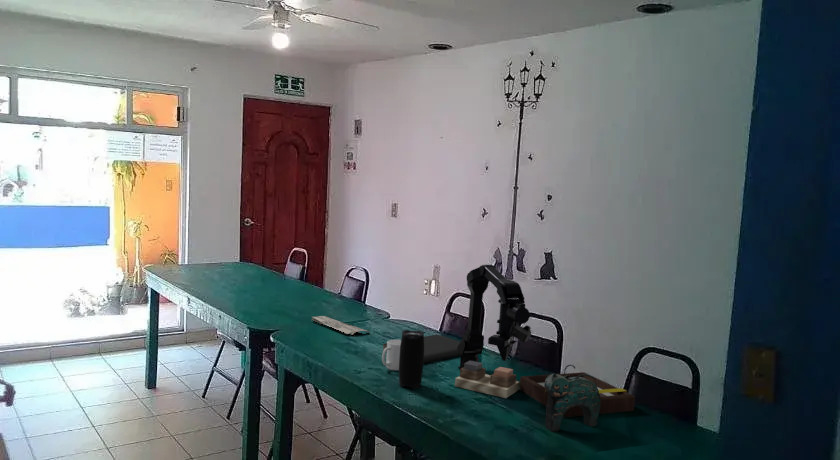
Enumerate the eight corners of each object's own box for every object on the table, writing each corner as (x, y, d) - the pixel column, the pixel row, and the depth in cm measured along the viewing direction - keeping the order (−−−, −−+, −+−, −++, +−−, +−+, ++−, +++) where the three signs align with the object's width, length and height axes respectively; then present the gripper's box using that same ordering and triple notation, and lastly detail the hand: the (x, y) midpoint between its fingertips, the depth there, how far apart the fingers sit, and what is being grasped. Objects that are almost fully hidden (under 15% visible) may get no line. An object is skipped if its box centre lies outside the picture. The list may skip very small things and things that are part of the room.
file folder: (436, 333, 299) (475, 345, 282) (435, 342, 299) (475, 355, 282) (382, 342, 276) (421, 357, 259) (381, 352, 276) (421, 367, 259)
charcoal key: (463, 371, 236) (464, 363, 236) (469, 368, 240) (470, 360, 240) (476, 374, 233) (476, 366, 233) (481, 371, 238) (482, 363, 237)
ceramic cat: (548, 434, 194) (553, 368, 192) (536, 426, 200) (541, 362, 198) (602, 427, 202) (607, 364, 200) (588, 419, 208) (593, 358, 206)
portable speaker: (422, 382, 236) (425, 329, 235) (420, 390, 227) (424, 336, 225) (399, 380, 236) (402, 328, 235) (396, 388, 227) (400, 334, 226)
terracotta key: (494, 378, 230) (494, 369, 230) (499, 374, 234) (500, 366, 234) (507, 380, 227) (507, 372, 227) (512, 377, 232) (513, 369, 232)
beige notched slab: (369, 335, 305) (370, 327, 305) (348, 338, 297) (348, 330, 297) (327, 320, 331) (327, 313, 331) (306, 322, 323) (306, 315, 322)
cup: (411, 368, 253) (412, 343, 252) (389, 373, 244) (390, 347, 244) (396, 363, 259) (398, 338, 258) (374, 368, 250) (375, 342, 249)
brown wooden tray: (636, 392, 219) (562, 398, 208) (635, 411, 219) (560, 418, 208) (586, 369, 245) (517, 373, 234) (584, 386, 246) (516, 391, 234)
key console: (454, 386, 234) (455, 370, 233) (469, 378, 244) (470, 363, 244) (506, 398, 224) (507, 381, 224) (518, 389, 234) (520, 373, 234)
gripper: (519, 325, 217) (516, 371, 218) (538, 317, 233) (534, 359, 235) (488, 320, 223) (485, 364, 224) (509, 312, 239) (506, 353, 240)
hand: (504, 360), depth 230 cm, fingers closed
